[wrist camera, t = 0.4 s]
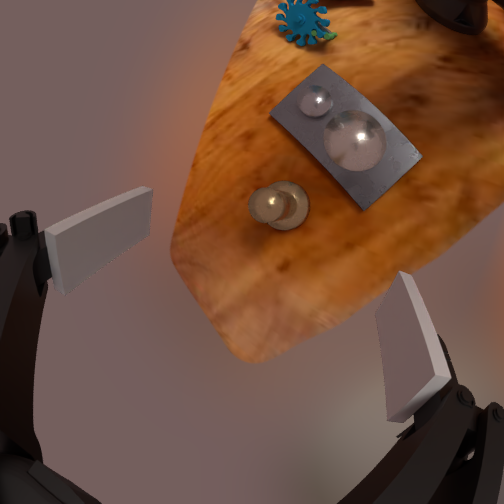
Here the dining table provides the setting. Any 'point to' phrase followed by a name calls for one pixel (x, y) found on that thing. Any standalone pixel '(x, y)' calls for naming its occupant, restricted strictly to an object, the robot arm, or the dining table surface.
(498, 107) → the dining table surface
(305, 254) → the dining table surface
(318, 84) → the carrier plate
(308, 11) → the gear
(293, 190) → the metal knob
